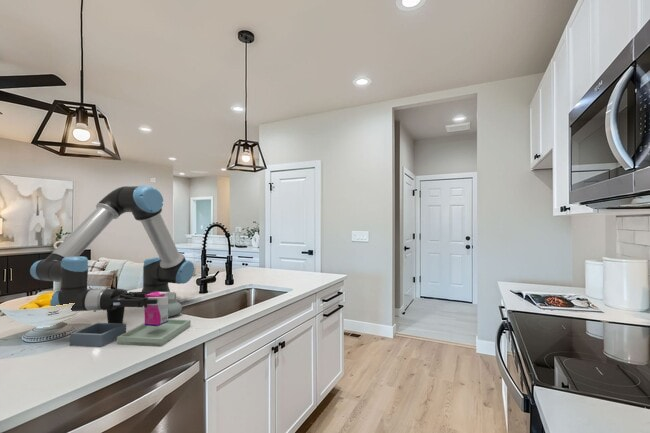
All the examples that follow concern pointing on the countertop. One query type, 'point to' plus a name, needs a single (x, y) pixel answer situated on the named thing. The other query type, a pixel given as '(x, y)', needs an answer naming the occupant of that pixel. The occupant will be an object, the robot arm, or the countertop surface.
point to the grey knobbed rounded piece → (173, 306)
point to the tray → (154, 333)
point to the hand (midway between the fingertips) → (170, 297)
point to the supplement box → (156, 311)
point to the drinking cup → (116, 310)
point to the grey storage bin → (97, 334)
